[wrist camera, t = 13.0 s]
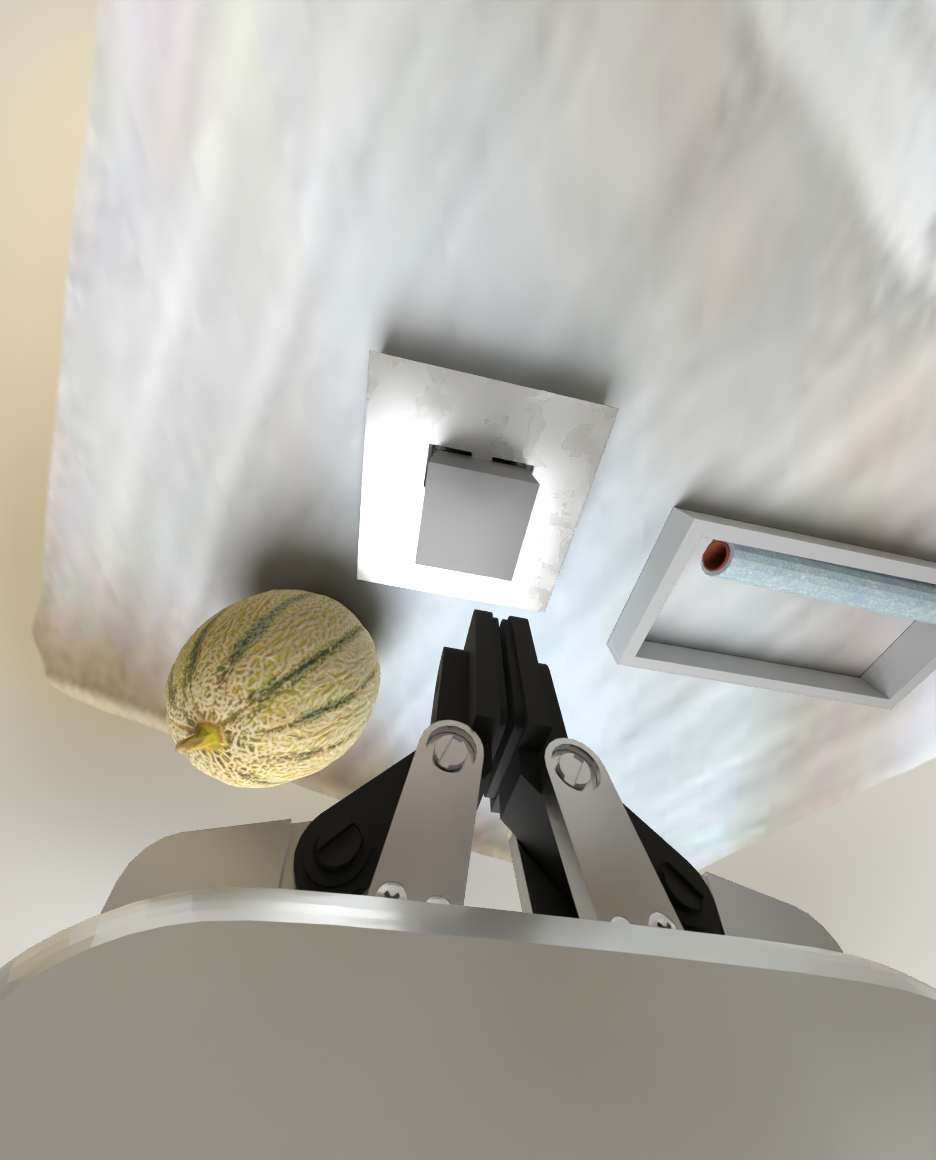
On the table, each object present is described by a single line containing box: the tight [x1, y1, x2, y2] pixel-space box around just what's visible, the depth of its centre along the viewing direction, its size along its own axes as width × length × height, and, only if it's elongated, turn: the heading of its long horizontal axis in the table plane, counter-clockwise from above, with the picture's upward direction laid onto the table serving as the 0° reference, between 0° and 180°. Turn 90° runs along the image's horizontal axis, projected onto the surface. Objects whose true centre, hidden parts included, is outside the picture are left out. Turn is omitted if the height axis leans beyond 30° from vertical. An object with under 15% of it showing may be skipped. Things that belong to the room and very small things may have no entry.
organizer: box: [607, 507, 936, 710], centre depth 32 cm, size 14×29×3 cm, turn 79°
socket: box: [357, 351, 619, 612], centre depth 27 cm, size 16×16×3 cm
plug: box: [415, 449, 540, 582], centre depth 24 cm, size 6×6×8 cm
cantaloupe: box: [164, 589, 380, 788], centre depth 28 cm, size 15×15×15 cm
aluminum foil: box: [701, 539, 936, 625], centre depth 29 cm, size 23×7×3 cm, turn 77°
